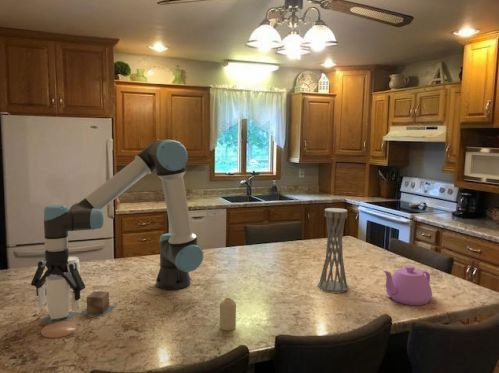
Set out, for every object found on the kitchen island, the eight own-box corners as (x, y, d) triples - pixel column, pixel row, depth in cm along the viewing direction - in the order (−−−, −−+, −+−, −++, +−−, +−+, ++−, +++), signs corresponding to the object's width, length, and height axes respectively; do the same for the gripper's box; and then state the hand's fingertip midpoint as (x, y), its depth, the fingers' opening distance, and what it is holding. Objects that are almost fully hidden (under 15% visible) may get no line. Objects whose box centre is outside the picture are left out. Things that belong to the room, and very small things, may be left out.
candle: (219, 323, 145) (219, 296, 144) (235, 323, 145) (235, 296, 144) (219, 331, 140) (220, 302, 138) (236, 330, 140) (236, 302, 139)
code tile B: (117, 307, 159) (117, 306, 159) (102, 317, 149) (102, 316, 149) (94, 304, 161) (94, 303, 161) (78, 314, 151) (78, 313, 151)
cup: (49, 322, 143) (47, 281, 142) (46, 315, 150) (45, 275, 148) (71, 318, 147) (70, 278, 146) (68, 311, 153) (67, 272, 152)
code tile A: (79, 313, 152) (79, 312, 152) (62, 325, 143) (62, 324, 143) (56, 311, 154) (56, 309, 154) (37, 322, 145) (37, 321, 145)
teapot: (413, 288, 185) (415, 258, 183) (445, 302, 168) (448, 270, 167) (368, 295, 175) (369, 263, 174) (397, 311, 159) (399, 276, 157)
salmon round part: (84, 324, 142) (84, 323, 142) (63, 339, 132) (63, 337, 132) (56, 321, 145) (56, 319, 145) (33, 335, 134) (33, 333, 134)
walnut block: (109, 306, 158) (108, 291, 157) (102, 313, 152) (102, 297, 151) (93, 306, 158) (93, 291, 158) (86, 312, 152) (86, 297, 152)
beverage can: (72, 289, 176) (71, 261, 175) (55, 287, 178) (54, 260, 177) (83, 282, 184) (83, 256, 183) (67, 281, 186) (66, 255, 185)
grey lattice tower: (354, 287, 184) (357, 210, 180) (338, 295, 174) (341, 213, 171) (328, 280, 193) (330, 206, 190) (311, 287, 184) (314, 209, 180)
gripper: (94, 248, 147) (95, 306, 149) (33, 243, 152) (35, 299, 154) (81, 254, 140) (83, 314, 142) (18, 248, 145) (20, 307, 147)
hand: (58, 306), depth 148 cm, fingers open, 13 cm apart
